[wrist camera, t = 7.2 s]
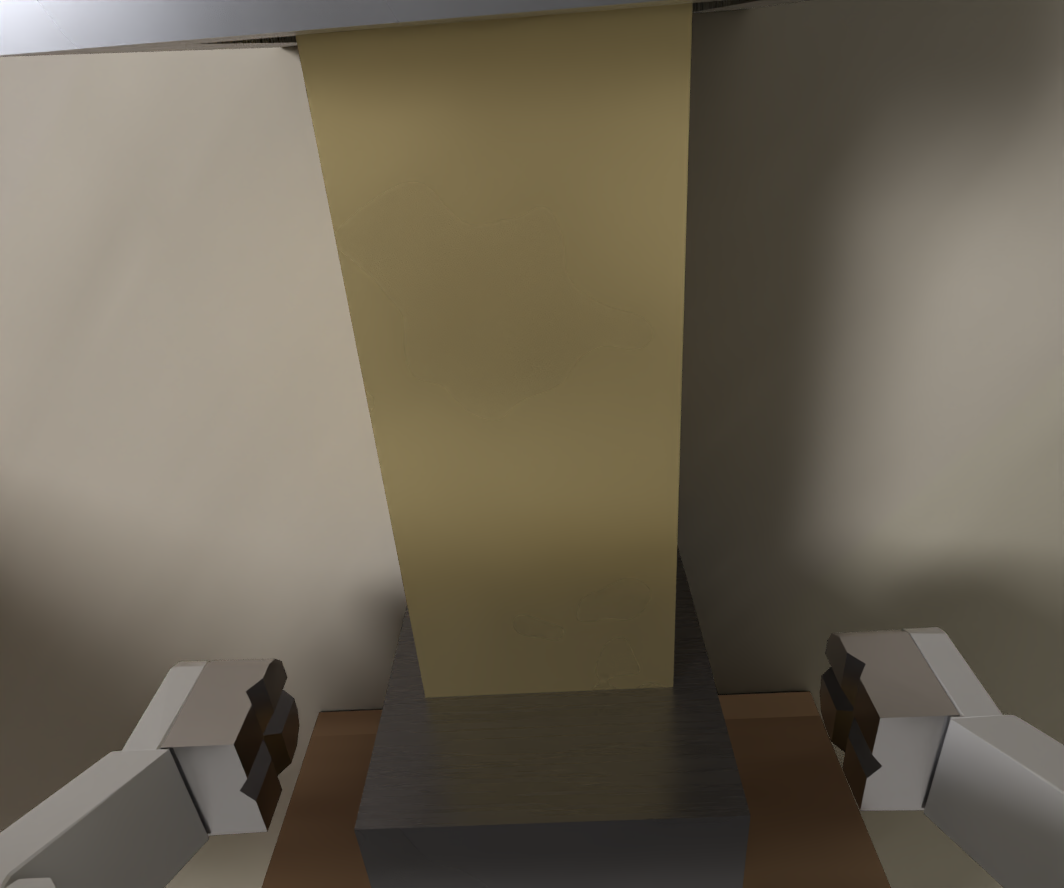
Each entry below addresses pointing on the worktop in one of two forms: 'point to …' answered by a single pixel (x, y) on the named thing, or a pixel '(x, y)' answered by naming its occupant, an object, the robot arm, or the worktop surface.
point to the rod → (529, 448)
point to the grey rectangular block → (260, 20)
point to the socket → (763, 763)
